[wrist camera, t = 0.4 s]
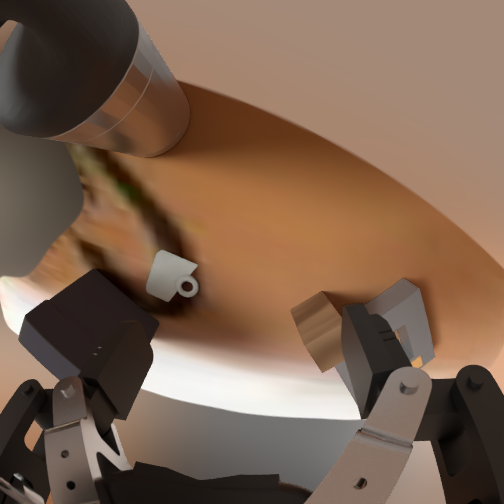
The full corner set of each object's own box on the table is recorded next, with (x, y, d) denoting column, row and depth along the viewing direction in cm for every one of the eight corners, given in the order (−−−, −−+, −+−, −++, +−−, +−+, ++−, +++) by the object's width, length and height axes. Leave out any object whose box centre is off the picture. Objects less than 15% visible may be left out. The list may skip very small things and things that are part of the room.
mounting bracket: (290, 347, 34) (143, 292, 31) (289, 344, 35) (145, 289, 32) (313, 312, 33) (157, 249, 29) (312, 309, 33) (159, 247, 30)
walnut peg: (290, 309, 33) (304, 345, 25) (321, 290, 32) (344, 321, 25) (305, 335, 34) (322, 372, 26) (335, 317, 33) (359, 351, 26)
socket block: (316, 334, 34) (325, 352, 30) (403, 278, 33) (420, 289, 29) (350, 391, 37) (359, 409, 33) (422, 344, 36) (435, 357, 32)
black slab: (83, 287, 31) (15, 344, 16) (96, 263, 30) (22, 316, 15) (146, 339, 33) (106, 421, 18) (162, 319, 32) (124, 402, 18)
